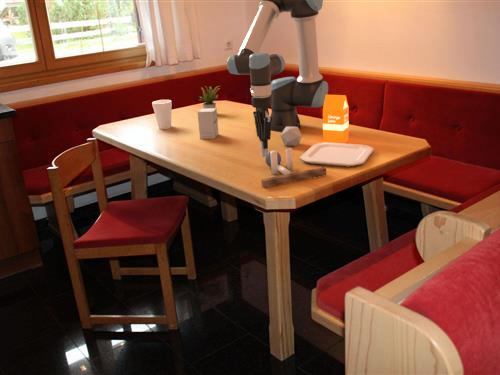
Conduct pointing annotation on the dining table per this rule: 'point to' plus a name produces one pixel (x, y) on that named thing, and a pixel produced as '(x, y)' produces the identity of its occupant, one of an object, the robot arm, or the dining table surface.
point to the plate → (337, 154)
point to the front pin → (283, 170)
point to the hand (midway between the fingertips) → (264, 155)
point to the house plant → (209, 98)
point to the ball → (268, 159)
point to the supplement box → (208, 123)
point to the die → (291, 136)
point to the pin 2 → (289, 159)
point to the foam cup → (163, 113)
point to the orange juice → (335, 119)
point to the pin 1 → (274, 163)
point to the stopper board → (293, 177)
